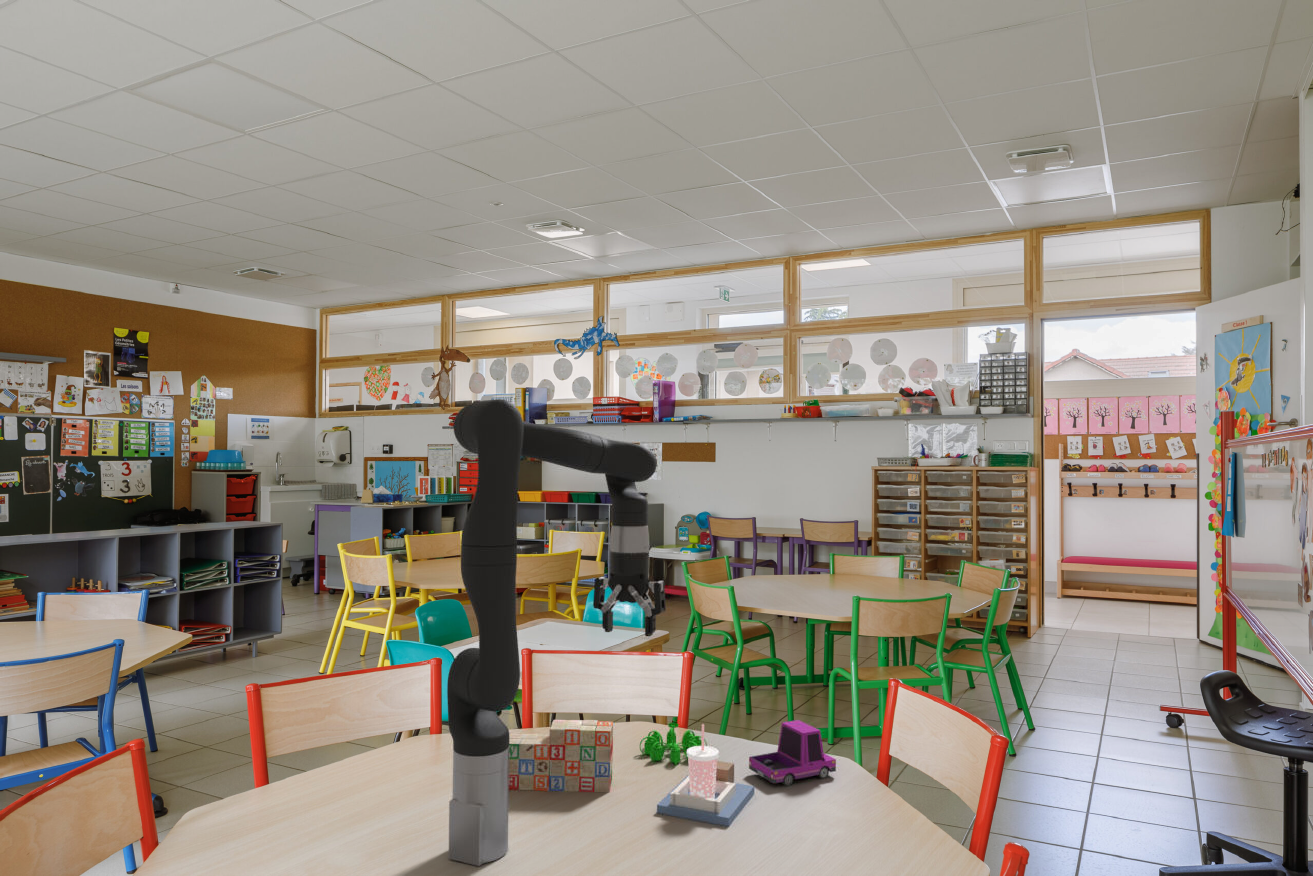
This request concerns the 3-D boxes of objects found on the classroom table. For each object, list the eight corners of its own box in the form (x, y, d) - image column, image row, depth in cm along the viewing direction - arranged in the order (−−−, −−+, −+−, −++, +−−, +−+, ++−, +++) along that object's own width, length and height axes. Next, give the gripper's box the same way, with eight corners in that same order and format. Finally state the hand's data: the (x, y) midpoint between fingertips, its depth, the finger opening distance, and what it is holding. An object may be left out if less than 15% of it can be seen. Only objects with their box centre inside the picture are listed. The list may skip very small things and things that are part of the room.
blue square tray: (728, 826, 150) (729, 795, 150) (656, 813, 155) (657, 783, 155) (754, 794, 164) (754, 765, 165) (687, 782, 170) (687, 755, 170)
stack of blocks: (502, 790, 165) (503, 728, 166) (509, 778, 172) (509, 718, 172) (610, 793, 165) (610, 730, 165) (613, 780, 171) (613, 720, 171)
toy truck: (838, 779, 173) (838, 730, 173) (775, 792, 166) (776, 741, 166) (807, 762, 183) (807, 715, 183) (746, 773, 176) (746, 725, 176)
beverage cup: (705, 808, 154) (706, 732, 154) (679, 799, 158) (680, 724, 158) (725, 798, 158) (725, 724, 159) (699, 790, 162) (700, 717, 163)
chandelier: (625, 756, 186) (625, 724, 186) (669, 739, 197) (669, 709, 197) (677, 773, 176) (677, 740, 176) (720, 754, 187) (720, 723, 187)
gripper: (587, 549, 160) (586, 634, 160) (655, 552, 155) (655, 641, 154) (605, 545, 167) (604, 627, 167) (671, 549, 162) (670, 633, 161)
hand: (628, 633), depth 161 cm, fingers open, 8 cm apart
